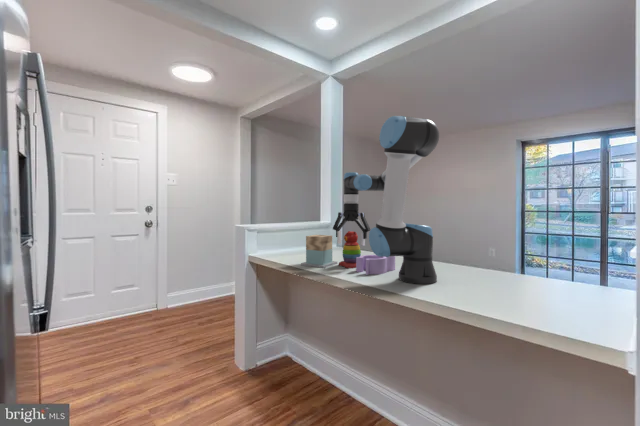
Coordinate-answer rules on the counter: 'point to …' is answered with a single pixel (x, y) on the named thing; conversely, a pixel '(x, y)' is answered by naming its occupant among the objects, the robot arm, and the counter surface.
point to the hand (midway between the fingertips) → (350, 244)
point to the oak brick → (319, 242)
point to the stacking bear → (350, 250)
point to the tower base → (319, 258)
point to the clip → (375, 264)
